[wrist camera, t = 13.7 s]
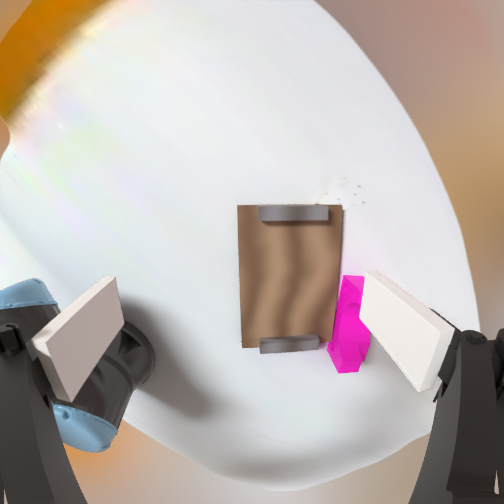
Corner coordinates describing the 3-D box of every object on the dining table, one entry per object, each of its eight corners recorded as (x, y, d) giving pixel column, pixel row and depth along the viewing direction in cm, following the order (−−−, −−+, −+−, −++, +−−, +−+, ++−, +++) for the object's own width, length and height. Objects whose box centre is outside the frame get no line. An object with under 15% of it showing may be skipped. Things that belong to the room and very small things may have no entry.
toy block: (355, 348, 49) (370, 370, 42) (326, 349, 48) (338, 373, 41) (374, 276, 45) (394, 292, 38) (342, 274, 45) (360, 291, 37)
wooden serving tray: (241, 344, 47) (242, 354, 44) (237, 205, 41) (237, 207, 38) (329, 338, 47) (334, 347, 45) (340, 204, 41) (347, 206, 39)
